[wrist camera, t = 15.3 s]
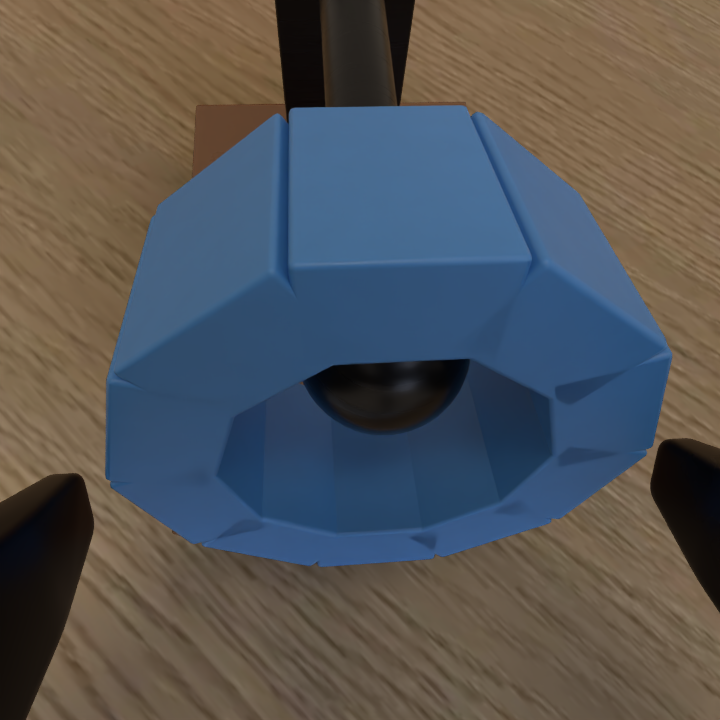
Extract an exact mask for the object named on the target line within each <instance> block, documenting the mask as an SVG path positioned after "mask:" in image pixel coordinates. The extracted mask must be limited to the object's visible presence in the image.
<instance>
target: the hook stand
mask: <svg viewBox="0 0 720 720" xmlns="http://www.w3.org/2000/svg"><path fill="white" fill-rule="evenodd" d="M414 4H415V0H275V6H276V17H277V27H278V37H279V48H280V58H281V68H282V78H283V89H284V99H285V104H252V105H197V106H196V119H195V137H194V154H193V172H192V178H194V177H195V176H196V175H198V174H199V173H200V172H201V171H203V170H204V169H205V168H206V167H208V166H209V165H210V164H212V163H213V162H214V161H215V160H217V159H218V158H219V157H221V156H222V155H223V154H224V153H226V152H227V151H228V150H229V149H231V148H232V147H233V146H235V145H236V144H237V143H238V142H240V141H241V140H242V139H244V138H245V137H246V136H247V135H249V134H250V133H251V132H252V131H254V130H255V129H256V128H258V127H259V126H260V125H261V124H263V123H264V122H265V121H267V120H268V119H269V118H270V117H272V116H273V115H275V114H277V113H278V114H280V115H281V116H282V117H283V118H284V119H285V120H286V122H287V123H288V124H289V112H290V109H292V108H312V107H379V106H446V105H463V106H465V107H466V103H465V102H418V103H400V101H401V94H402V87H403V81H404V74H405V67H406V60H407V53H408V46H409V39H410V32H411V25H412V18H413V11H414ZM469 364H470V359H455V360H434V361H413V362H391V363H370V364H349V365H333V366H331V367H329V368H327V369H325V370H323V371H321V372H319V373H317V374H316V375H314V376H312V377H310V378H308V379H306V380H304V381H302V382H300V384H302V385H304V386H305V388H306V390H307V391H308V393H309V395H310V396H311V398H312V399H313V400H314V402H315V403H316V404H317V405H318V406H319V407H320V408H321V409H322V410H323V411H324V412H325V413H326V414H327V415H328V416H329V417H331V418H332V419H333V420H335V421H336V422H338V423H340V424H341V425H343V426H345V427H347V428H350V429H352V430H354V431H358V432H362V433H365V434H372V435H395V434H401V433H405V432H409V431H412V430H414V429H417V428H419V427H422V426H424V425H426V424H427V423H429V422H431V421H432V420H434V419H435V418H436V417H438V416H439V415H440V414H441V413H442V412H443V411H444V410H445V409H446V408H447V407H448V406H449V405H450V404H451V403H452V402H453V400H454V399H455V398H456V396H457V395H458V393H459V391H460V389H461V387H462V386H463V383H464V381H465V378H466V376H467V373H468V369H469ZM172 533H173V534H175V535H179V534H177V533H176V532H174V531H173V530H172ZM179 536H180V535H179Z"/></svg>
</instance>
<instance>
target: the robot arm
mask: <svg viewBox="0 0 720 720" xmlns="http://www.w3.org/2000/svg"><path fill="white" fill-rule="evenodd" d="M650 489H651V494H652V497H653V499H654V501H655V503H656V505H657V507H658V509H659V510H660V512H661V514H662V516H663V518H664V519H665V521H666V523H667V525H668V527H669V529H670V530H671V532H672V534H673V536H674V538H675V540H676V541H677V543H678V545H679V547H680V549H681V551H682V552H683V554H684V556H685V558H686V560H687V562H688V563H689V565H690V567H691V569H692V570H693V572H694V574H695V576H696V577H697V579H698V581H699V582H700V584H701V585H702V587H703V589H704V590H705V592H706V593H707V595H708V596H709V598H710V599H711V601H712V602H713V604H714V605H715V607H716V608H717V610H718V611H719V612H720V449H719V448H716V447H713V446H710V445H707V444H705V443H702V442H699V441H696V440H693V439H689V438H682V439H667V440H665V441H663V442H662V443H661V444H660V445H659V448H658V451H657V456H656V460H655V464H654V469H653V473H652V478H651V483H650ZM93 530H94V518H93V514H92V510H91V506H90V502H89V498H88V494H87V489H86V485H85V482H84V480H83V478H82V476H80V475H79V474H77V473H69V474H53V475H49V476H47V477H45V478H43V479H42V480H40V481H38V482H36V483H35V484H33V485H31V486H29V487H27V488H26V489H24V490H22V491H20V492H18V493H17V494H15V495H13V496H11V497H9V498H8V499H6V500H4V501H2V502H0V720H26V718H27V716H28V713H29V711H30V709H31V706H32V704H33V702H34V699H35V697H36V695H37V692H38V690H39V687H40V685H41V683H42V680H43V678H44V676H45V673H46V671H47V669H48V666H49V664H50V662H51V659H52V657H53V655H54V652H55V650H56V647H57V645H58V643H59V640H60V637H61V635H62V632H63V630H64V627H65V624H66V621H67V618H68V615H69V612H70V609H71V605H72V602H73V599H74V595H75V592H76V589H77V585H78V582H79V579H80V575H81V572H82V569H83V565H84V562H85V559H86V555H87V552H88V549H89V545H90V542H91V539H92V535H93Z"/></svg>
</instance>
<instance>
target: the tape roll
mask: <svg viewBox="0 0 720 720" xmlns="http://www.w3.org/2000/svg"><path fill="white" fill-rule="evenodd" d="M455 359H470V364H469V369H468V373H467V376H466V378H465V381H464V383H463V386H462V387H461V389H460V391H459V393H458V395H457V396H456V398H455V399H454V400H453V402H452V403H451V404H450V405H449V406H448V407H447V408H446V409H445V410H444V411H443V412H442V413H441V414H440V415H439V416H438V417H436V418H435V419H434V420H432V421H431V422H429V423H427V424H426V425H424V426H422V427H419V428H417V429H414V430H412V431H409V432H405V433H401V434H395V435H372V434H365V433H362V432H358V431H354V430H352V429H350V428H347V427H345V426H343V425H341V424H340V423H338V422H336V421H335V420H333V419H332V418H331V417H329V416H328V415H327V414H326V413H325V412H324V411H323V410H322V409H321V408H320V407H319V406H318V405H317V404H316V403H315V402H314V400H313V399H312V398H311V396H310V395H309V393H308V391H307V390H306V388H305V386H304V385H302V384H300V382H302V381H304V380H306V379H308V378H310V377H312V376H314V375H316V374H317V373H319V372H321V371H323V370H325V369H327V368H329V367H331V366H333V365H349V364H370V363H391V362H413V361H434V360H455ZM671 360H672V352H671V351H670V349H669V347H668V345H667V343H666V339H665V337H664V335H663V333H662V332H661V330H660V328H659V327H658V325H657V323H656V322H655V320H654V318H653V317H652V315H651V313H650V312H649V310H648V308H647V307H646V305H645V303H644V302H643V300H642V298H641V297H640V295H639V293H638V292H637V290H636V288H635V286H634V285H633V283H632V281H631V280H630V278H629V276H628V275H627V273H626V271H625V270H624V268H623V266H622V265H621V263H620V261H619V260H618V258H617V256H616V255H615V253H614V251H613V250H612V248H611V246H610V245H609V243H608V241H607V239H606V238H605V236H604V234H603V233H602V231H601V229H600V228H599V226H598V224H597V223H596V221H595V219H594V218H593V216H592V214H591V213H590V211H589V209H588V208H587V206H586V204H585V203H584V201H583V199H582V198H581V196H580V194H579V193H578V192H576V191H575V190H574V189H573V188H572V187H570V186H569V185H568V184H567V183H566V182H564V181H563V180H562V179H561V178H560V177H559V176H557V175H556V174H555V173H554V172H553V171H551V170H550V169H549V168H548V167H547V166H545V165H544V164H543V163H542V162H541V161H539V160H538V159H537V158H536V157H535V156H533V155H532V154H531V153H530V152H529V151H527V150H526V149H525V148H524V147H523V146H521V145H520V144H519V143H518V142H517V141H515V140H514V139H513V138H512V137H511V136H509V135H508V134H507V133H506V132H505V131H503V130H502V129H501V128H500V127H499V126H497V125H496V124H495V123H494V122H493V121H491V120H490V119H489V118H488V117H487V116H485V115H484V114H483V113H480V112H476V113H474V114H473V115H472V116H471V117H470V115H469V112H468V110H467V108H466V107H465V106H463V105H446V106H379V107H312V108H292V109H290V112H289V124H288V123H287V122H286V120H285V119H284V118H283V117H282V116H281V115H280V114H278V113H277V114H275V115H273V116H272V117H270V118H269V119H268V120H267V121H265V122H264V123H263V124H261V125H260V126H259V127H258V128H256V129H255V130H254V131H252V132H251V133H250V134H249V135H247V136H246V137H245V138H244V139H242V140H241V141H240V142H238V143H237V144H236V145H235V146H233V147H232V148H231V149H229V150H228V151H227V152H226V153H224V154H223V155H222V156H221V157H219V158H218V159H217V160H215V161H214V162H213V163H212V164H210V165H209V166H208V167H206V168H205V169H204V170H203V171H201V172H200V173H199V174H198V175H196V176H195V177H194V178H192V179H191V180H190V181H189V182H187V183H186V184H185V185H183V186H182V187H181V188H180V189H178V190H177V191H176V192H174V193H173V194H172V195H171V196H169V197H168V198H167V199H166V200H164V201H163V202H162V203H160V204H159V205H158V208H157V211H156V215H154V216H153V217H152V218H151V221H150V225H149V228H148V232H147V235H146V239H145V243H144V246H143V250H142V253H141V257H140V261H139V264H138V268H137V271H136V275H135V279H134V282H133V286H132V289H131V293H130V297H129V300H128V304H127V308H126V311H125V315H124V318H123V322H122V326H121V329H120V333H119V336H118V340H117V344H116V347H115V351H114V354H113V358H112V362H111V365H110V369H109V372H108V376H107V380H106V463H105V475H106V479H107V480H110V481H111V482H110V486H111V488H112V489H114V490H115V491H117V492H118V493H119V494H121V495H122V496H124V497H125V498H127V499H128V500H130V501H131V502H132V503H134V504H135V505H137V506H138V507H140V508H141V509H143V510H144V511H146V512H147V513H148V514H150V515H151V516H153V517H154V518H156V519H157V520H159V521H160V522H161V523H163V524H164V525H166V526H167V527H169V528H170V529H172V530H173V531H174V532H176V533H177V534H179V535H180V536H182V537H183V538H185V539H186V540H187V541H189V542H190V543H192V544H196V543H200V542H201V543H202V545H203V546H204V547H209V548H215V549H220V550H225V551H231V552H236V553H242V554H247V555H252V556H258V557H263V558H268V559H274V560H279V561H285V562H290V563H295V564H301V565H306V566H310V565H313V564H315V563H316V562H317V564H318V566H320V567H328V566H342V565H356V564H370V563H383V562H397V561H411V560H425V559H432V558H434V556H435V554H437V555H439V556H440V557H445V556H448V555H451V554H454V553H457V552H460V551H464V550H467V549H470V548H473V547H476V546H479V545H482V544H486V543H489V542H492V541H495V540H498V539H501V538H504V537H508V536H511V535H514V534H517V533H520V532H523V531H526V530H530V529H533V528H536V527H539V526H542V525H545V524H548V523H550V522H551V518H553V519H560V518H562V517H563V516H564V515H566V514H567V513H568V512H570V511H571V510H572V509H574V508H575V507H577V506H578V505H579V504H581V503H582V502H583V501H585V500H586V499H587V498H589V497H590V496H592V495H593V494H594V493H596V492H597V491H598V490H600V489H601V488H602V487H604V486H605V485H606V484H608V483H609V482H611V481H612V480H613V479H615V478H616V477H617V476H619V475H620V474H621V473H623V472H624V471H625V470H627V469H628V468H630V467H631V466H632V465H634V464H635V463H636V462H638V461H639V460H640V459H642V458H643V457H645V456H646V454H647V451H646V449H649V448H651V447H652V446H653V441H654V437H655V432H656V428H657V423H658V419H659V414H660V410H661V405H662V401H663V396H664V392H665V387H666V383H667V378H668V374H669V369H670V365H671Z"/></svg>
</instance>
